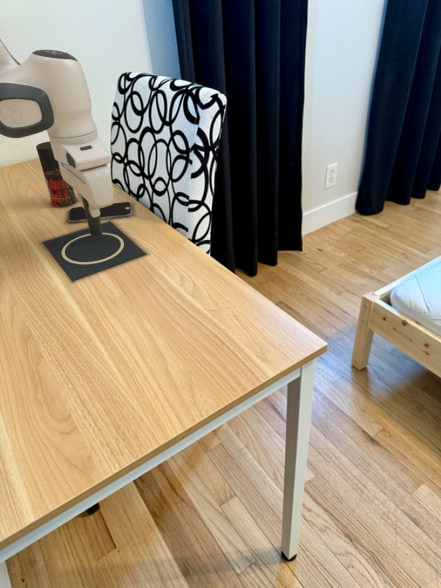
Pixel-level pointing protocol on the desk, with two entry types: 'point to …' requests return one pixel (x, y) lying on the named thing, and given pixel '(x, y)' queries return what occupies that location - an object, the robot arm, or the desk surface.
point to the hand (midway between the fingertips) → (91, 212)
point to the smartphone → (102, 212)
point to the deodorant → (55, 178)
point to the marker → (92, 220)
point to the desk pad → (92, 251)
